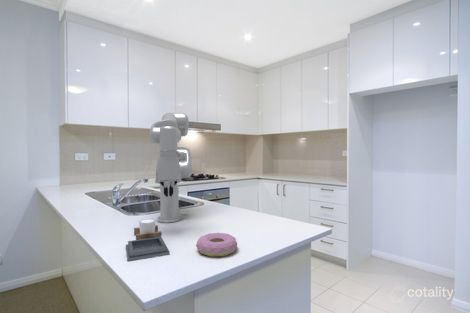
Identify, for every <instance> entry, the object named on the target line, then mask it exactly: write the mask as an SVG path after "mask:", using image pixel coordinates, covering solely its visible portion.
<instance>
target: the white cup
mask: <svg viewBox="0 0 470 313" xmlns="http://www.w3.org/2000/svg"><path fill="white" fill-rule="evenodd" d="M156 220H157V219H153V218H145V219H141V220H138V227H140V234H144V233H152V232H155V226H156V224H157V223H156V222H157V221H156Z"/></svg>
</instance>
